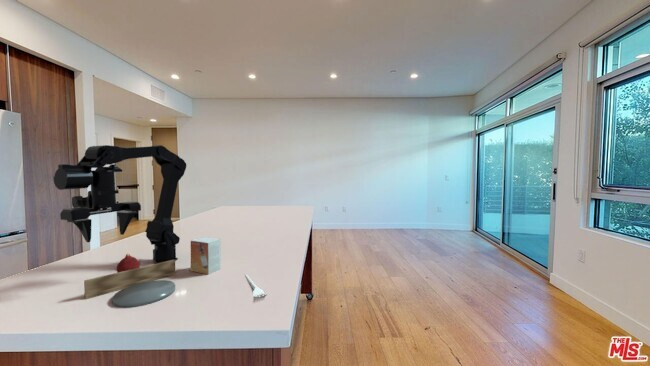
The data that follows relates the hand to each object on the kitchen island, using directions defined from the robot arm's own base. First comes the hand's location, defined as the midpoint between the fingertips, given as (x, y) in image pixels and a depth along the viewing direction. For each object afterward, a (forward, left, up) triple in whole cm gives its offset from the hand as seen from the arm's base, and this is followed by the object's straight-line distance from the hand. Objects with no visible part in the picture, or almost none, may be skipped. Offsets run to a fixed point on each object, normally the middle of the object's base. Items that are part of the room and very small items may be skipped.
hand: (106, 238), depth 81 cm
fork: (-26, +38, -14) cm, 48 cm away
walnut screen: (-5, +10, -13) cm, 17 cm away
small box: (-24, +15, -13) cm, 31 cm away
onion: (-5, +4, -13) cm, 15 cm away
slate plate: (-5, +20, -13) cm, 24 cm away
